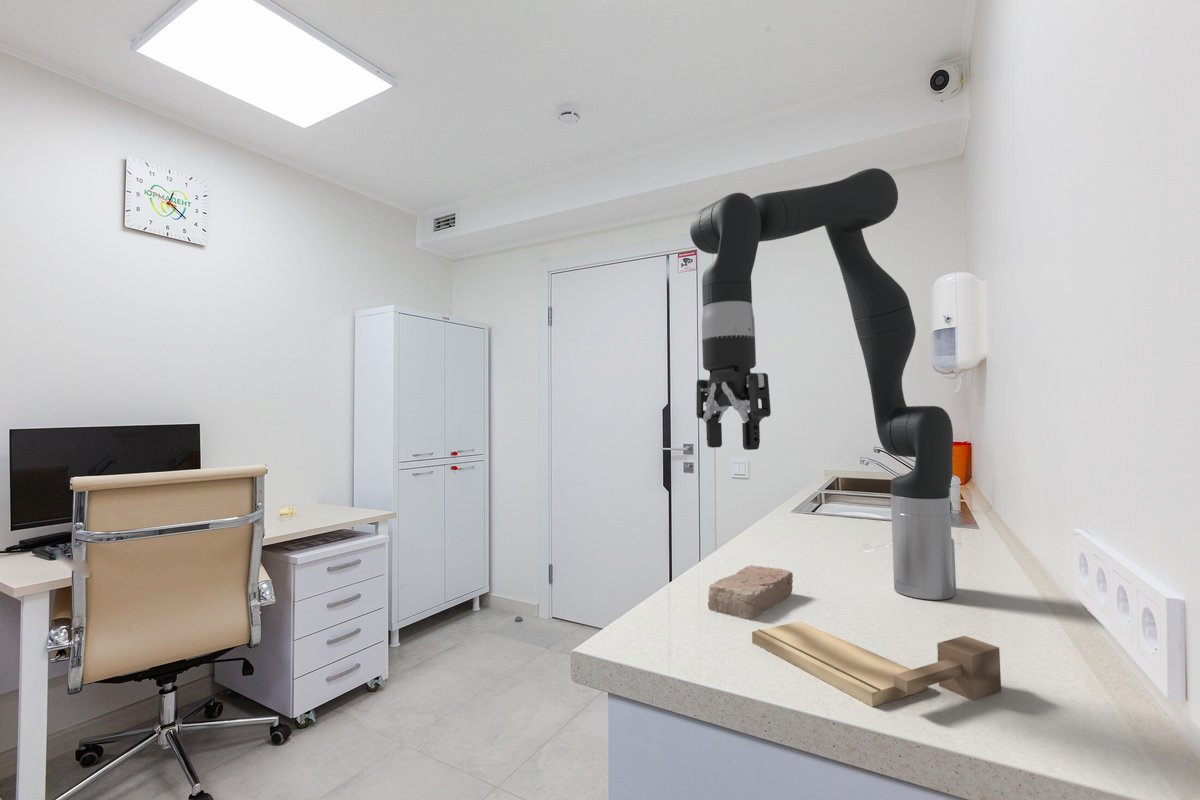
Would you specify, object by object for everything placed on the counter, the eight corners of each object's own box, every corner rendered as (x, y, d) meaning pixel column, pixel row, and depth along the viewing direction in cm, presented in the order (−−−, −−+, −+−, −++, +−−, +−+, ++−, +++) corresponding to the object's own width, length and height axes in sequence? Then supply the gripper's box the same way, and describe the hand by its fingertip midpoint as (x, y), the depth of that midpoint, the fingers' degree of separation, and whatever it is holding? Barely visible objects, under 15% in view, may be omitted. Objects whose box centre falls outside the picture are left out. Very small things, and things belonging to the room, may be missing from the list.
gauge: (971, 675, 69) (969, 634, 69) (1006, 689, 65) (1004, 645, 65) (885, 703, 63) (883, 657, 63) (918, 720, 59) (916, 672, 59)
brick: (752, 622, 89) (751, 592, 89) (705, 611, 94) (705, 582, 94) (794, 597, 101) (794, 570, 101) (751, 588, 107) (750, 563, 107)
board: (800, 631, 84) (800, 620, 84) (927, 689, 66) (927, 675, 66) (752, 642, 80) (751, 630, 80) (872, 706, 62) (871, 692, 62)
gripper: (782, 330, 77) (787, 449, 77) (720, 343, 90) (723, 445, 90) (737, 328, 74) (741, 452, 74) (680, 342, 87) (683, 447, 87)
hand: (732, 448), depth 82 cm, fingers open, 8 cm apart
